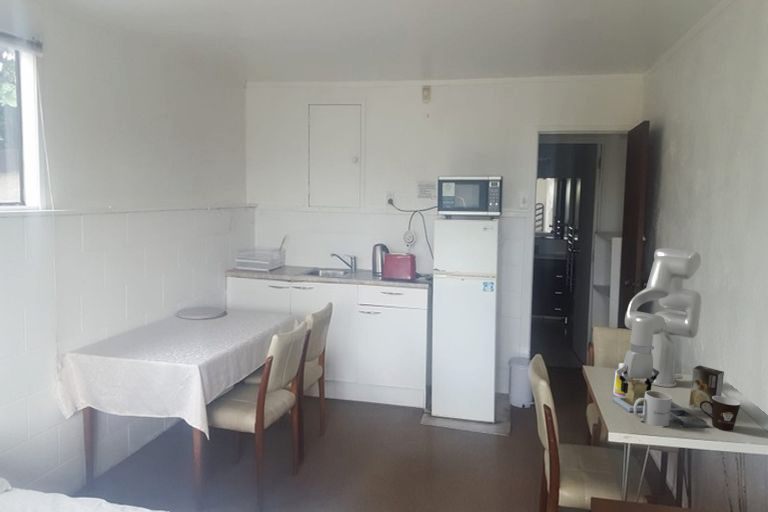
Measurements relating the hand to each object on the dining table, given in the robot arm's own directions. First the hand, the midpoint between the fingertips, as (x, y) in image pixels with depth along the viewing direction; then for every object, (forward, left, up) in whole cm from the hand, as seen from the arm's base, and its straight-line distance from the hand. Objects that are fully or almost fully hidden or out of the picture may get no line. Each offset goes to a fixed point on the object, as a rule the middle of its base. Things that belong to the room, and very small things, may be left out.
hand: (635, 392), depth 209 cm
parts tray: (0, 0, -6) cm, 6 cm away
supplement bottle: (-2, -11, -6) cm, 13 cm away
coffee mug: (-21, +18, -6) cm, 28 cm away
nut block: (0, 0, -5) cm, 5 cm away
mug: (+3, +13, -6) cm, 15 cm away
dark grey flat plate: (-11, +8, -6) cm, 15 cm away
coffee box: (-27, +4, -6) cm, 28 cm away
